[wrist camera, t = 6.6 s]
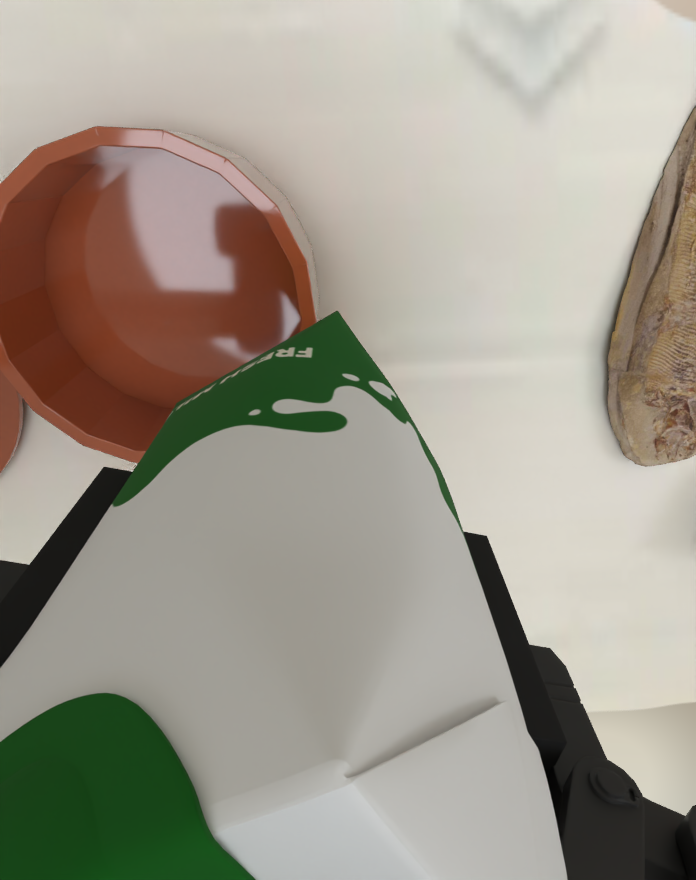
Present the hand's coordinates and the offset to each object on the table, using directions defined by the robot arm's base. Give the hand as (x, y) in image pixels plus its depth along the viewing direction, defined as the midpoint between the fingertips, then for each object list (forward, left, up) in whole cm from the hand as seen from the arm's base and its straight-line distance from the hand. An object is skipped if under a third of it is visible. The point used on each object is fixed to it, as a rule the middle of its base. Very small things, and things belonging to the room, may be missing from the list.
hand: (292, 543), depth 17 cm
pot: (-9, 0, -24) cm, 25 cm away
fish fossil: (+23, +8, -24) cm, 35 cm away
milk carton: (0, 0, -7) cm, 7 cm away
